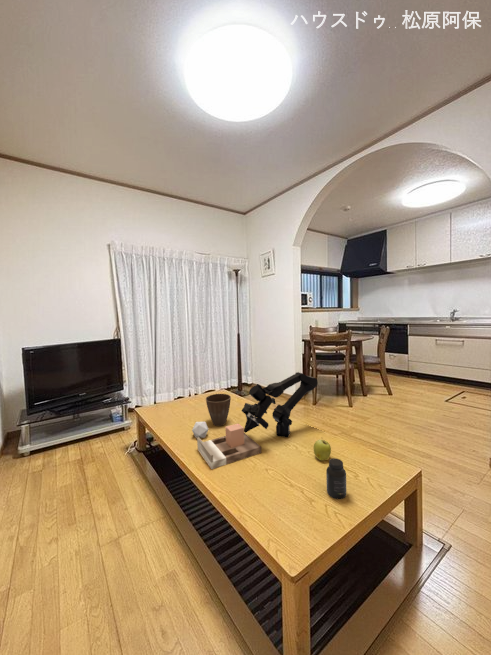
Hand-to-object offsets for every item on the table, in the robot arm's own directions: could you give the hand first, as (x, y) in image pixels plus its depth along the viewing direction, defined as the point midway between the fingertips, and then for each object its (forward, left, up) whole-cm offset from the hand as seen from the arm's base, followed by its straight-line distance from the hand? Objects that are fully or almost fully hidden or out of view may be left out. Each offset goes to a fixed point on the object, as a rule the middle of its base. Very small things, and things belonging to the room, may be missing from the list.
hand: (244, 432), depth 131 cm
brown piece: (+5, +6, -7) cm, 11 cm away
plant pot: (+25, -20, -7) cm, 33 cm away
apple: (-37, -1, -7) cm, 38 cm away
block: (+3, +4, -4) cm, 7 cm away
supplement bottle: (-44, +21, -7) cm, 49 cm away
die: (+27, -2, -7) cm, 28 cm away
